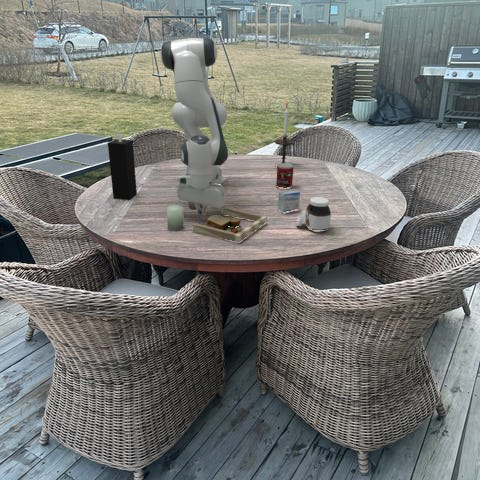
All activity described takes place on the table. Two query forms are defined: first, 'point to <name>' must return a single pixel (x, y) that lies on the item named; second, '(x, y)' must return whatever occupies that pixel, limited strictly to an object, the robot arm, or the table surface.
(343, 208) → the table surface
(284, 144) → the candlestick
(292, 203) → the medicine box
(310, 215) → the spread jar
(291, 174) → the canned food
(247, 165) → the table surface
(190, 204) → the peach rounded cylinder
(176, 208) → the sage green rounded piece
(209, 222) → the toy sandwich meal
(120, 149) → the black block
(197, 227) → the frame
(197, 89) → the robot arm
